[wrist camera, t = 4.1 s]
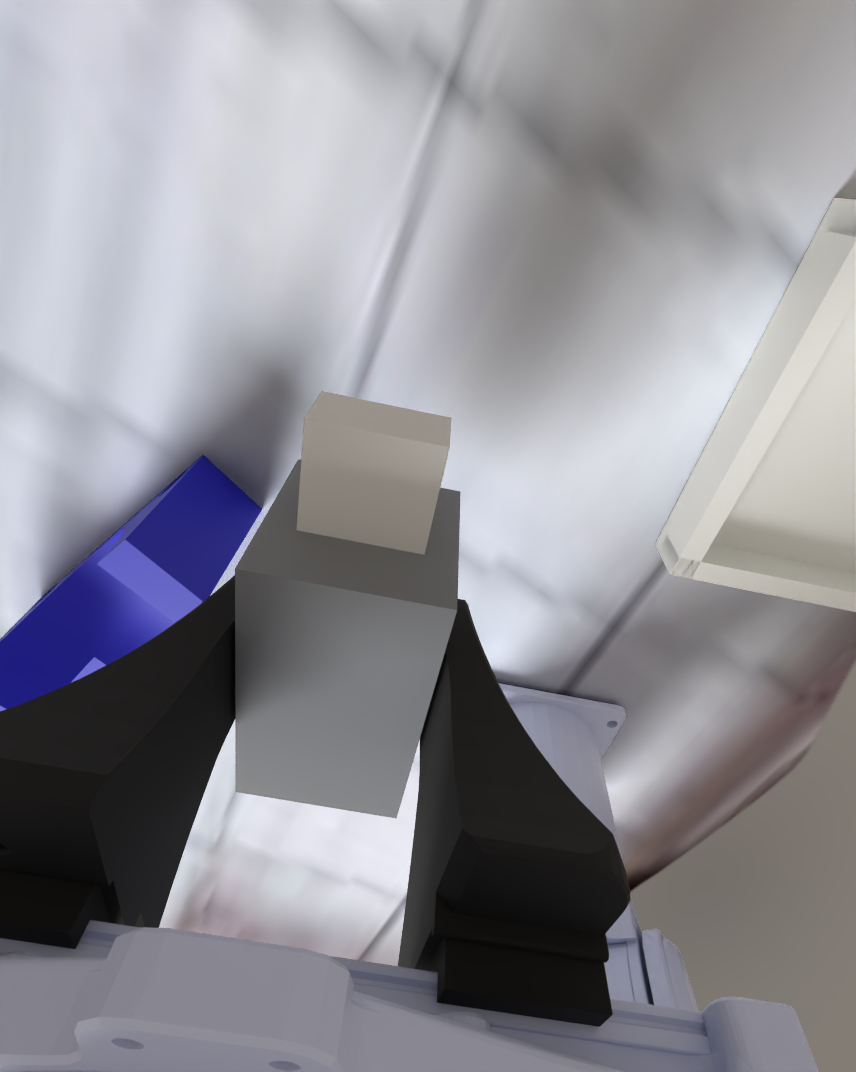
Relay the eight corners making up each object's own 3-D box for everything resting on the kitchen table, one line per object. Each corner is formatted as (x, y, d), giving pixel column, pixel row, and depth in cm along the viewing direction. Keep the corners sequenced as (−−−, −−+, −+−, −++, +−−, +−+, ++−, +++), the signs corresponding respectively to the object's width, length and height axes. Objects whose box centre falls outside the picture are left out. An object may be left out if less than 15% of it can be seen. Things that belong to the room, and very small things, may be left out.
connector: (411, 682, 18) (396, 818, 14) (284, 659, 17) (235, 791, 14) (483, 398, 12) (490, 497, 9) (305, 361, 12) (234, 446, 9)
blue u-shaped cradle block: (124, 652, 28) (49, 759, 23) (43, 595, 26) (-59, 697, 21) (290, 532, 23) (241, 632, 18) (205, 452, 21) (125, 539, 16)
